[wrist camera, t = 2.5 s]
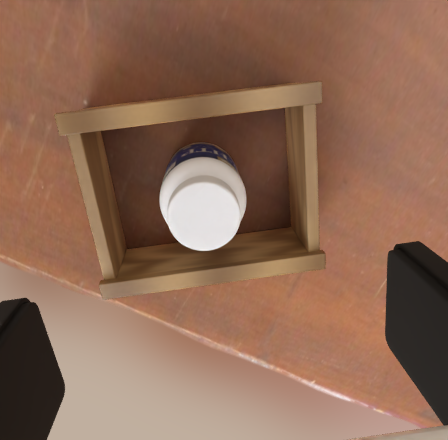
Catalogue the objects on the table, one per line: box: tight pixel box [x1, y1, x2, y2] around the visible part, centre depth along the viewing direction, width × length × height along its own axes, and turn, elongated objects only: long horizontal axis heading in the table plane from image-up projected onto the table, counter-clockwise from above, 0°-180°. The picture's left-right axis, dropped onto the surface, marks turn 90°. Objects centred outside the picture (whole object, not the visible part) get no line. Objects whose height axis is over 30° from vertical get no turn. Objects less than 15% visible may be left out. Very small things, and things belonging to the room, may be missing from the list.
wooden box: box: [54, 81, 326, 300], centre depth 27 cm, size 15×12×6 cm
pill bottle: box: [159, 142, 247, 251], centre depth 25 cm, size 5×5×9 cm
